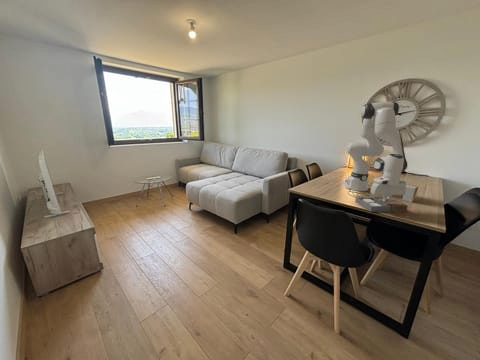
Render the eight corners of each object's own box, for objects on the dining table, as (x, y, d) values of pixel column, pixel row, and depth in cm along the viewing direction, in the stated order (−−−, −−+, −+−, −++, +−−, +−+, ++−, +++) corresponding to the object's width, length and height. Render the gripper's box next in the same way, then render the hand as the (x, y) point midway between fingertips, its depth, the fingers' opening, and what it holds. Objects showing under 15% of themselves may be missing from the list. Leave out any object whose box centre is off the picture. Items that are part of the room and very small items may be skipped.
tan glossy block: (373, 202, 139) (374, 196, 137) (387, 202, 139) (388, 196, 138) (390, 211, 123) (392, 205, 122) (406, 211, 123) (407, 205, 122)
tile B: (377, 203, 128) (376, 206, 129) (369, 203, 128) (368, 206, 129) (382, 206, 124) (381, 209, 124) (374, 206, 123) (374, 209, 124)
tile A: (369, 198, 136) (369, 202, 137) (362, 198, 136) (362, 202, 136) (374, 201, 131) (374, 205, 132) (367, 201, 131) (366, 205, 132)
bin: (355, 201, 138) (356, 197, 137) (372, 202, 138) (373, 197, 138) (370, 211, 123) (371, 206, 122) (389, 211, 123) (391, 206, 122)
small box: (411, 202, 139) (415, 188, 136) (401, 200, 143) (405, 186, 140) (415, 200, 143) (418, 186, 141) (405, 197, 148) (408, 184, 145)
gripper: (402, 179, 125) (397, 199, 129) (371, 179, 124) (367, 199, 128) (411, 181, 119) (405, 203, 123) (378, 181, 118) (373, 203, 122)
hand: (385, 201), depth 125 cm, fingers closed
